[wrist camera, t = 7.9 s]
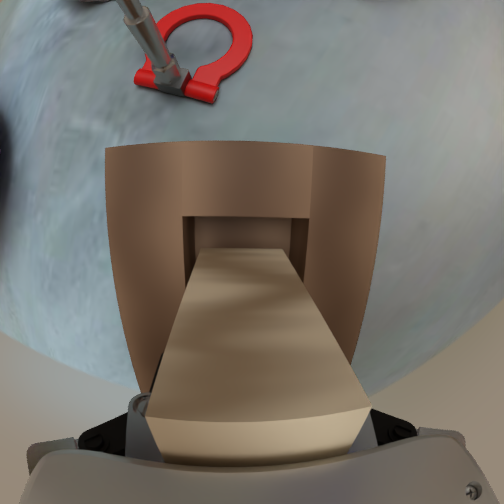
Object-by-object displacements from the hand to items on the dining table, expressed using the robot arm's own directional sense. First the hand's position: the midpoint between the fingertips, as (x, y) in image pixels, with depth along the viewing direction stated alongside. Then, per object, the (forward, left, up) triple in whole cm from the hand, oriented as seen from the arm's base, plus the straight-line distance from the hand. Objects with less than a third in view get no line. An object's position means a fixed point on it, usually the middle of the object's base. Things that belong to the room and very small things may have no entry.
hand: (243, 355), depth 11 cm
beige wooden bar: (0, 0, -3) cm, 3 cm away
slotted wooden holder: (0, 0, -11) cm, 11 cm away
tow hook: (+4, -18, -11) cm, 22 cm away
